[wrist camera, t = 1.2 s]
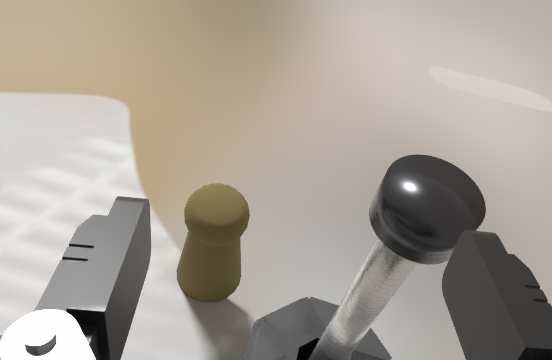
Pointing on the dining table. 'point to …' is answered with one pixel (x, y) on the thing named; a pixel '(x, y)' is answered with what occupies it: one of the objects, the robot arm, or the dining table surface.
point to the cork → (213, 243)
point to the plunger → (402, 243)
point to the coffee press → (303, 333)
